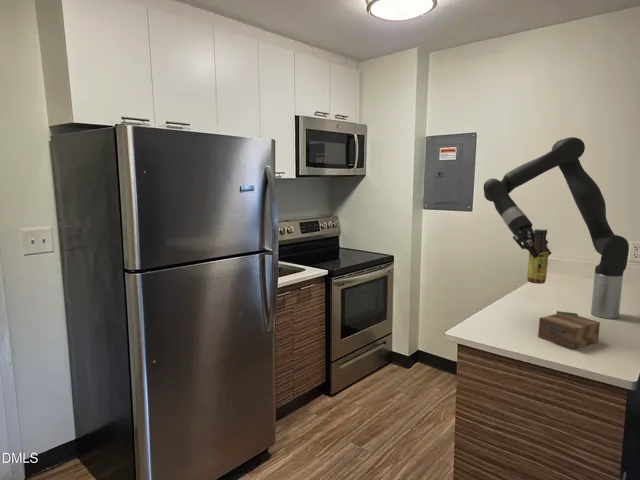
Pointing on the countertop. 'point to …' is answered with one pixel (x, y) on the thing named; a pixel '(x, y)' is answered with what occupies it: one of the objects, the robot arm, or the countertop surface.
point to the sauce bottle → (538, 259)
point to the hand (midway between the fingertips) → (543, 255)
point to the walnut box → (568, 330)
